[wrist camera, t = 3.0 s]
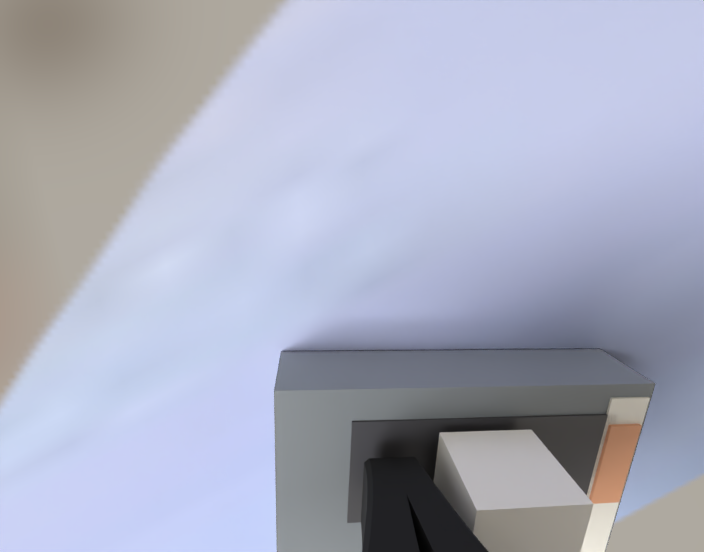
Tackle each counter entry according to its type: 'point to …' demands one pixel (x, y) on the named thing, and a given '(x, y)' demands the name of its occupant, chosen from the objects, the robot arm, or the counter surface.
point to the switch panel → (443, 425)
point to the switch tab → (511, 491)
